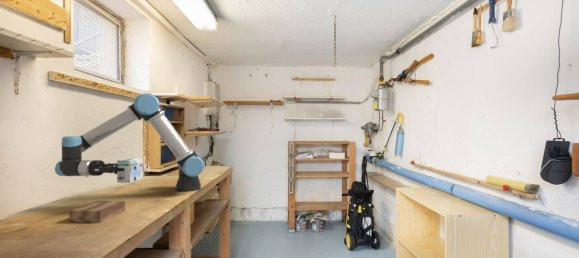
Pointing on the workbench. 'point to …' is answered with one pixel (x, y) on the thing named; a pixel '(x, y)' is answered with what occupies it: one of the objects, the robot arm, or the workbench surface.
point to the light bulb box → (130, 176)
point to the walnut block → (97, 211)
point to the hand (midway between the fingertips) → (138, 167)
